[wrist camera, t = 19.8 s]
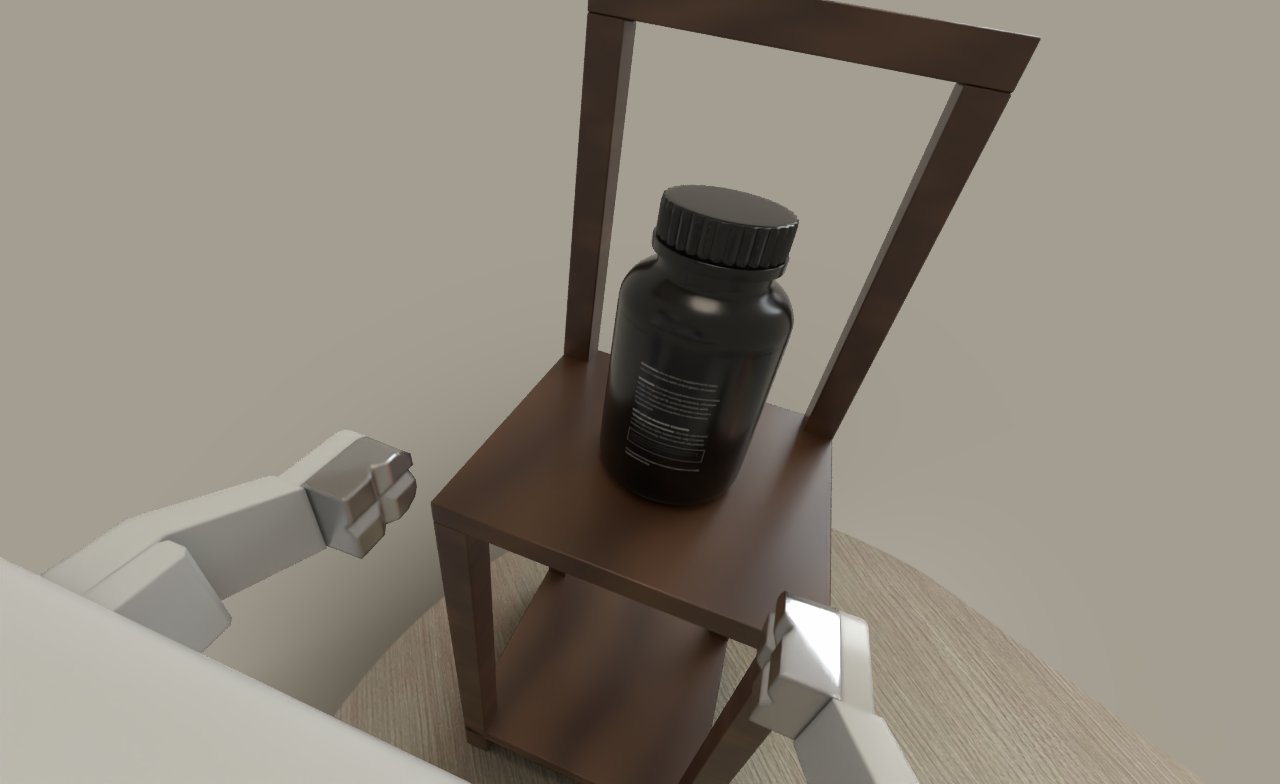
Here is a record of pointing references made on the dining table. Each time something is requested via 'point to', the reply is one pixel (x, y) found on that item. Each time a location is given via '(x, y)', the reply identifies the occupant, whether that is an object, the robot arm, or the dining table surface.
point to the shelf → (666, 534)
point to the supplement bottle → (697, 344)
